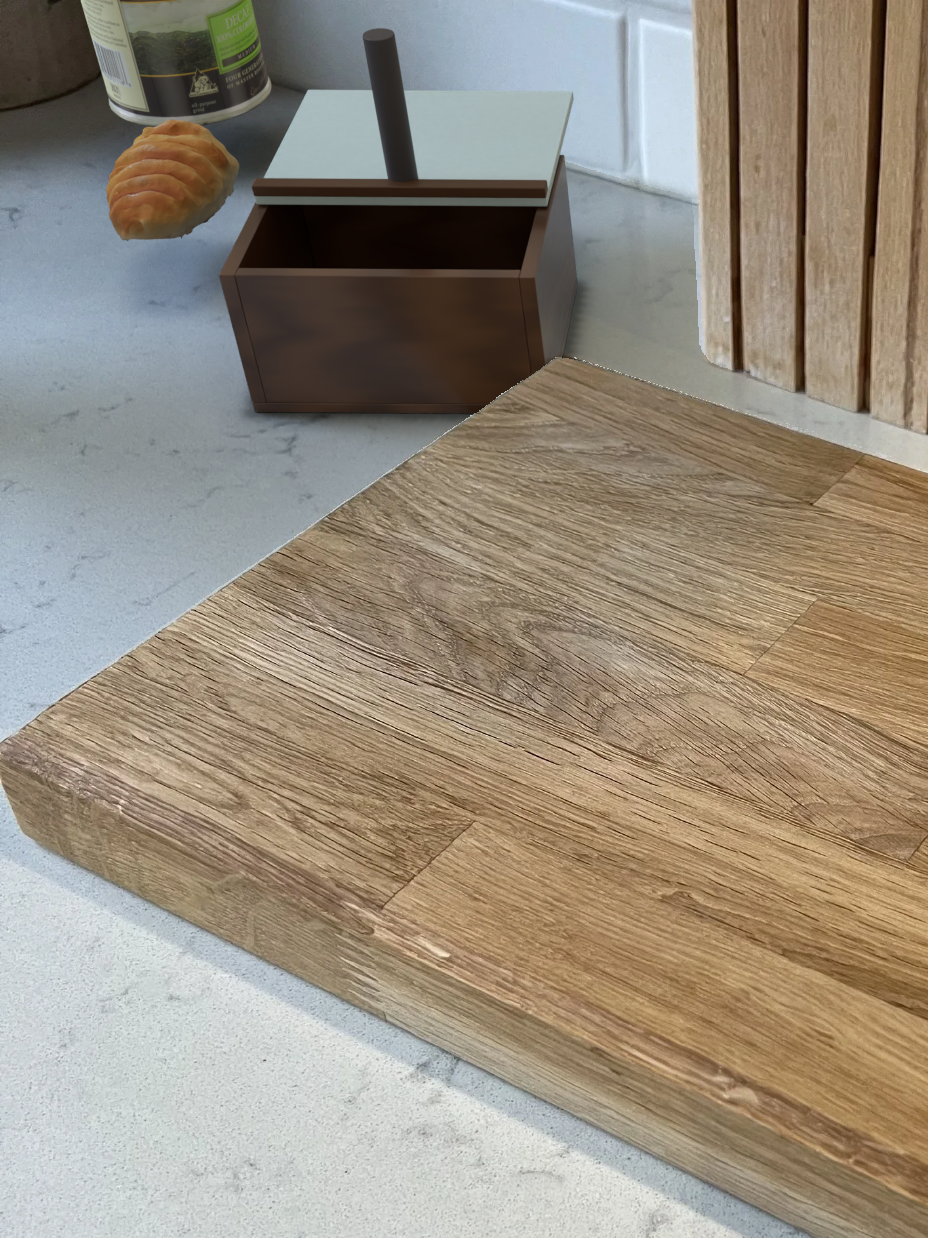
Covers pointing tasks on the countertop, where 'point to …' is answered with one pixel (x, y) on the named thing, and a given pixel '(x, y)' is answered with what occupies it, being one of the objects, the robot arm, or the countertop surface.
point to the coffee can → (178, 58)
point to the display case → (399, 303)
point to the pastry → (169, 182)
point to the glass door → (417, 144)
